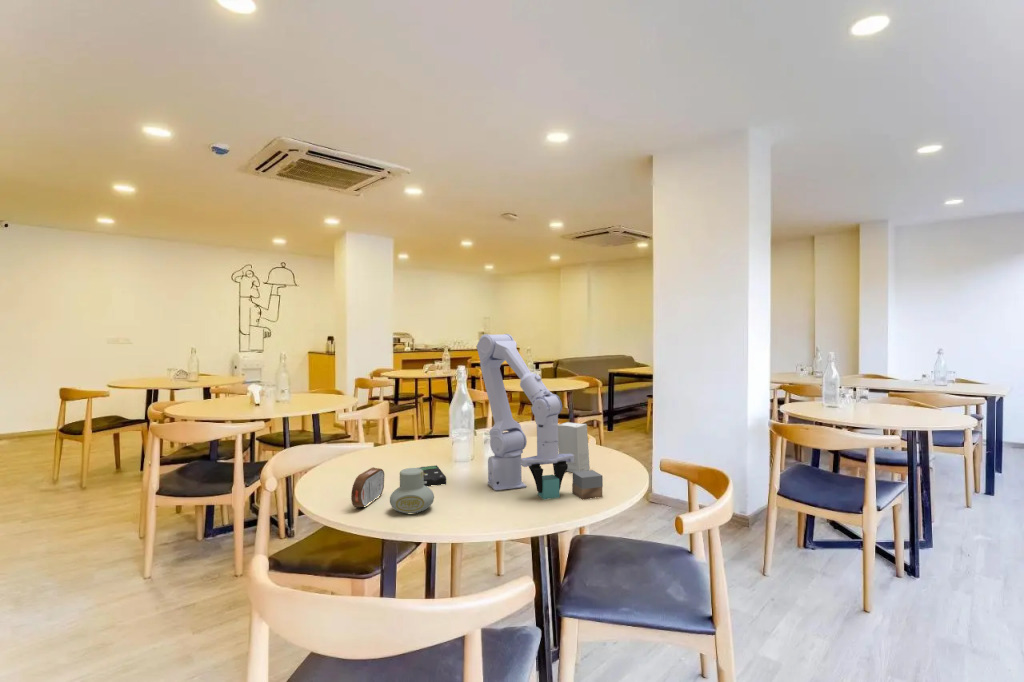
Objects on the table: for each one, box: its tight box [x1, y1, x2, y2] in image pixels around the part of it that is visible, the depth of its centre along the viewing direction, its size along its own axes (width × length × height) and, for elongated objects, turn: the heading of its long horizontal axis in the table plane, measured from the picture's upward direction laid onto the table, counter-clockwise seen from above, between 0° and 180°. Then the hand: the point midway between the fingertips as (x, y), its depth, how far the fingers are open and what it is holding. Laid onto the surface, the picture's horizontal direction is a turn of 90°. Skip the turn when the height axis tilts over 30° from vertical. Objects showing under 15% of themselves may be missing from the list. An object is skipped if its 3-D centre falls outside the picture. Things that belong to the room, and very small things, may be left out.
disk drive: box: [418, 464, 447, 487], centre depth 154 cm, size 10×3×15 cm
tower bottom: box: [571, 482, 603, 501], centre depth 137 cm, size 6×6×3 cm
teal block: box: [537, 474, 561, 500], centre depth 136 cm, size 4×4×5 cm
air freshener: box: [389, 467, 435, 514], centre depth 127 cm, size 11×8×10 cm
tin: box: [350, 467, 385, 508], centre depth 134 cm, size 15×3×8 cm, turn 170°
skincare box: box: [558, 421, 591, 473], centre depth 161 cm, size 8×6×15 cm
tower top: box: [571, 469, 604, 489], centre depth 137 cm, size 6×6×3 cm
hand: (548, 490), depth 136 cm, fingers closed on teal block, 4 cm apart
